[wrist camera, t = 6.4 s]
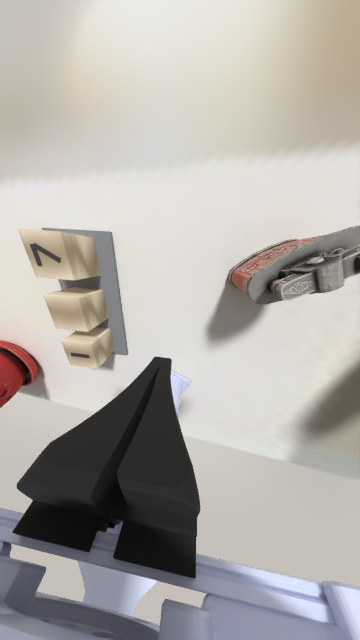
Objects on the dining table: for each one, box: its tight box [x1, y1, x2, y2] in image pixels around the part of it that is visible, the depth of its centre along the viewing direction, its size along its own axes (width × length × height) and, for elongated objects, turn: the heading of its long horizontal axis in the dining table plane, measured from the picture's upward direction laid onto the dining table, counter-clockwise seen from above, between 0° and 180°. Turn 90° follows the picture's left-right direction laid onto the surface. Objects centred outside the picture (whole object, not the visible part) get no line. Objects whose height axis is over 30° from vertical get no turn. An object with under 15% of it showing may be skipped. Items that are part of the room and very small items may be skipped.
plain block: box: [43, 287, 109, 332], centre depth 18 cm, size 4×4×4 cm
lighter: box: [228, 226, 360, 304], centre depth 12 cm, size 8×3×10 cm, turn 118°
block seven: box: [18, 229, 101, 280], centre depth 16 cm, size 4×4×5 cm
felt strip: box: [42, 228, 128, 355], centre depth 21 cm, size 19×9×1 cm, turn 176°
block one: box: [61, 327, 114, 369], centre depth 21 cm, size 4×4×5 cm
